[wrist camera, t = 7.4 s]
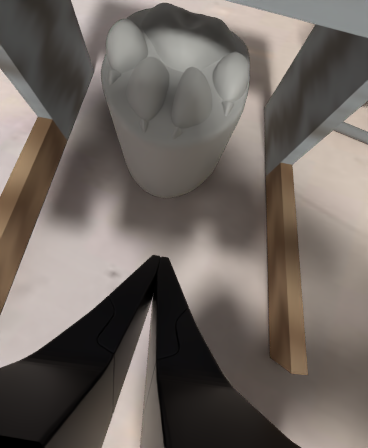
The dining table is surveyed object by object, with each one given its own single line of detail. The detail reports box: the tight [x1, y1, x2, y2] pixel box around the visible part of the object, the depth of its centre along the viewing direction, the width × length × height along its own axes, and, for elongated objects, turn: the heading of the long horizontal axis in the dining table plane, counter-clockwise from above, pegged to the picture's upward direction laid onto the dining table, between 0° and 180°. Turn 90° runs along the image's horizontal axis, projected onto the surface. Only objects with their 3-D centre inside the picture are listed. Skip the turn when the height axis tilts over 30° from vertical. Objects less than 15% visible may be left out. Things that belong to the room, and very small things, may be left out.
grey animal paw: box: [101, 3, 250, 198], centre depth 15 cm, size 10×13×9 cm
